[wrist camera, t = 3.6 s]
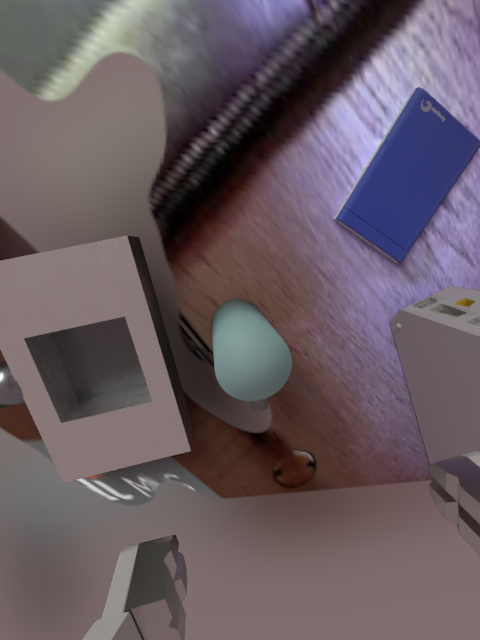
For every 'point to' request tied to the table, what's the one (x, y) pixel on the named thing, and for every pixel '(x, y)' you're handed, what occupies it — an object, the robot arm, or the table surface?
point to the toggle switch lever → (248, 353)
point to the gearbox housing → (91, 357)
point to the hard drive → (408, 176)
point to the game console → (443, 368)
